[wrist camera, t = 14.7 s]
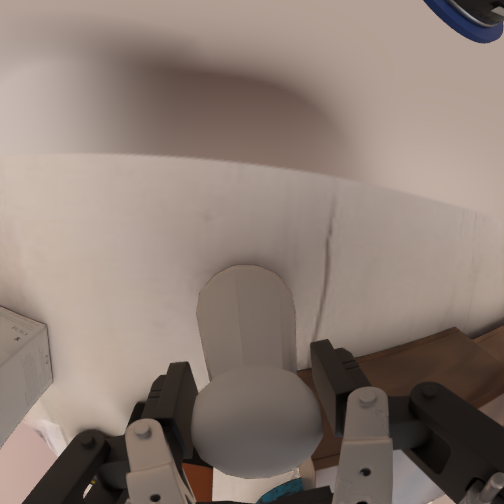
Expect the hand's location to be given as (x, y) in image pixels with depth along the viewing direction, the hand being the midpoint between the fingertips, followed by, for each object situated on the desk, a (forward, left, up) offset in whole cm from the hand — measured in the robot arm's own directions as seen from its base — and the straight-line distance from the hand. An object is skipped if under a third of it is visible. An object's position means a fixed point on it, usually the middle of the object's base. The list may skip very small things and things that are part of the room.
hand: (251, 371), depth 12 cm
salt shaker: (0, 0, -9) cm, 9 cm away
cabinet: (+13, +10, -8) cm, 18 cm away
